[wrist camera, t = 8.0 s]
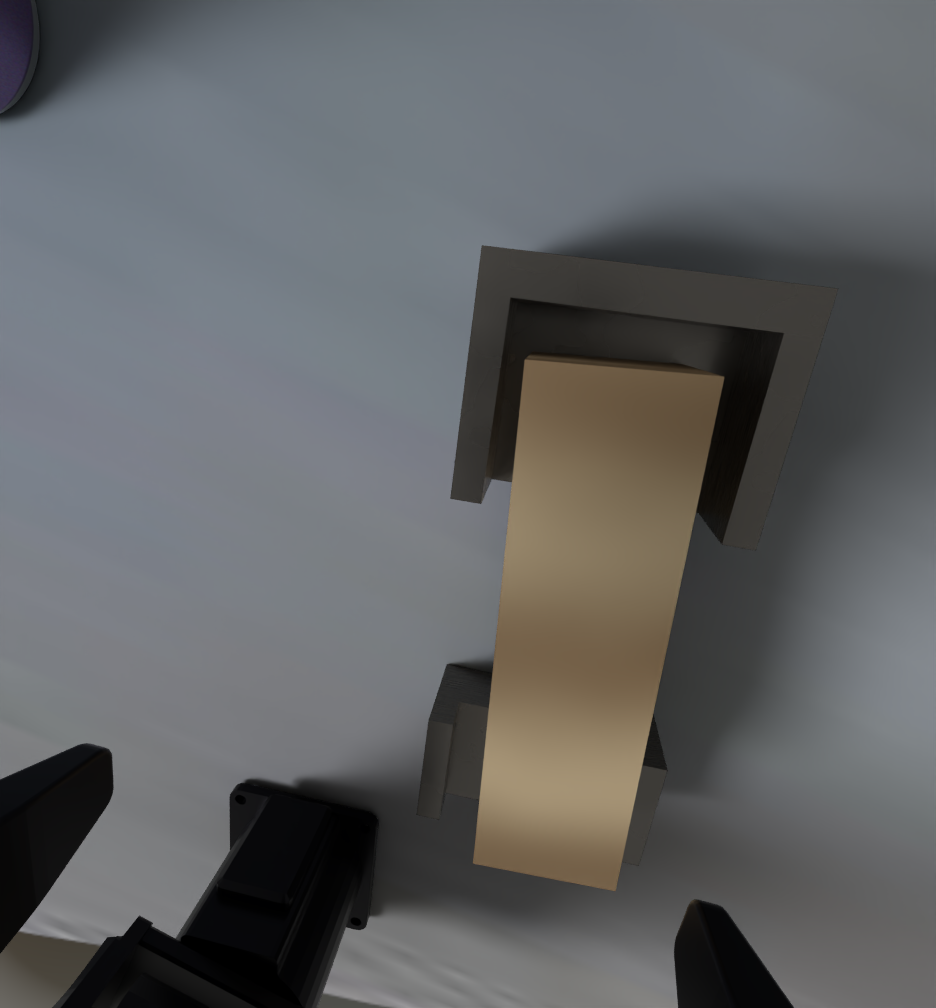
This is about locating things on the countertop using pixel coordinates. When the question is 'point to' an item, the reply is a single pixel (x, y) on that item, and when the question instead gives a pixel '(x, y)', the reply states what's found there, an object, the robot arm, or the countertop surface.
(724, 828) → the countertop surface
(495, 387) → the bracket
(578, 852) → the rail
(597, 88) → the countertop surface
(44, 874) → the robot arm
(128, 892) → the countertop surface
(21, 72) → the beverage can
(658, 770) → the dark grey arch block
